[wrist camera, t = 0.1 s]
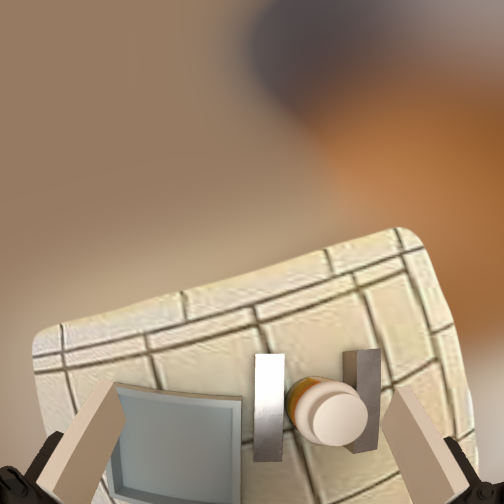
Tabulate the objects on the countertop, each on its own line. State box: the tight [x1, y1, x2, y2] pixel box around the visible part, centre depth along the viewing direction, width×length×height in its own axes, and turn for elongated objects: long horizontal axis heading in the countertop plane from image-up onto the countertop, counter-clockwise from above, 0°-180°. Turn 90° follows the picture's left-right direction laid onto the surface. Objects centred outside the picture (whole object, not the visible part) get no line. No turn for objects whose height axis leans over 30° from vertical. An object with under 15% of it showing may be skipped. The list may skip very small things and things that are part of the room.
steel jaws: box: [253, 348, 381, 462], centre depth 23 cm, size 10×11×4 cm
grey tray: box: [106, 382, 242, 504], centre depth 21 cm, size 13×13×3 cm
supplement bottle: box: [285, 376, 368, 447], centre depth 20 cm, size 5×5×10 cm
